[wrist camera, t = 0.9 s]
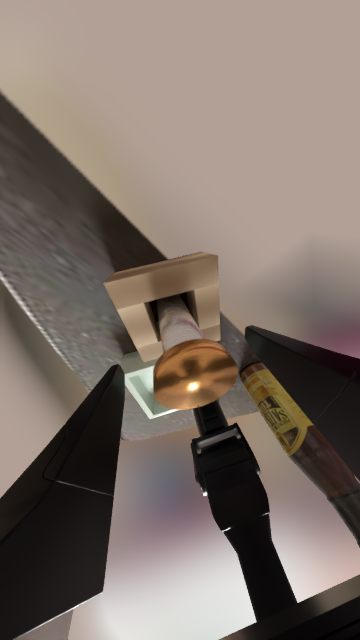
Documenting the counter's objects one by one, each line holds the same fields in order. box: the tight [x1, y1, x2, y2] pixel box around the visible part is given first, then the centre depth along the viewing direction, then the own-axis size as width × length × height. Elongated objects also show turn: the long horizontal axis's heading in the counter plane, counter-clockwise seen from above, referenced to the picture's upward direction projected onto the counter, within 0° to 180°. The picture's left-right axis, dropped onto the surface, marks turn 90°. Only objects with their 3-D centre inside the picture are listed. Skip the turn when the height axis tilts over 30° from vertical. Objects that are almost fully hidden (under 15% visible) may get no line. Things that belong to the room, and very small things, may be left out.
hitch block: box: [104, 252, 220, 362], centre depth 14 cm, size 9×9×4 cm
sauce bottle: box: [240, 363, 360, 547], centre depth 19 cm, size 7×6×20 cm
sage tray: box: [121, 351, 177, 419], centre depth 21 cm, size 12×12×4 cm
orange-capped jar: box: [153, 294, 238, 410], centre depth 11 cm, size 4×4×11 cm
